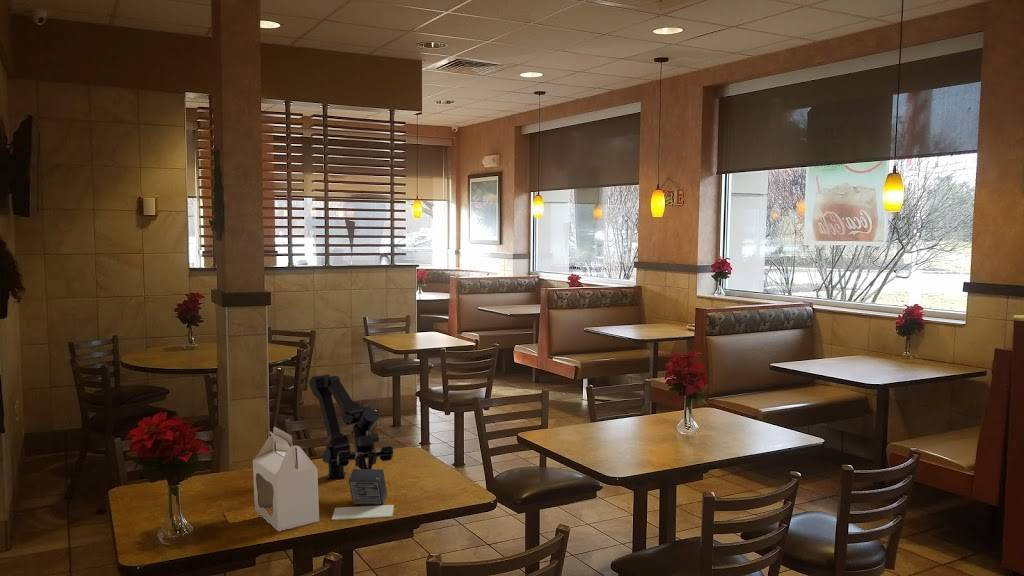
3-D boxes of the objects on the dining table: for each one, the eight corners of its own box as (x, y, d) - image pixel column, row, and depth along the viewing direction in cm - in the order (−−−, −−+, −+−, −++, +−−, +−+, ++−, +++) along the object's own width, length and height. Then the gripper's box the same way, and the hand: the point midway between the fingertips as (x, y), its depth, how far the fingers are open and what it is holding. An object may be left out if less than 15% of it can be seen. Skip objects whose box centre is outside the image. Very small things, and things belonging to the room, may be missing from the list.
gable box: (254, 511, 249) (251, 427, 247) (293, 502, 257) (290, 421, 255) (278, 532, 231) (275, 442, 229) (319, 521, 239) (316, 434, 237)
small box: (387, 493, 258) (384, 468, 254) (383, 506, 252) (379, 480, 248) (357, 493, 259) (353, 467, 255) (352, 505, 253) (348, 480, 249)
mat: (335, 509, 250) (335, 507, 250) (393, 505, 252) (393, 504, 252) (331, 520, 240) (331, 519, 240) (392, 517, 242) (392, 515, 242)
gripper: (336, 428, 258) (342, 468, 248) (391, 422, 264) (399, 461, 254) (334, 446, 265) (340, 485, 255) (387, 440, 272) (395, 478, 262)
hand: (369, 477), depth 256 cm, fingers closed
